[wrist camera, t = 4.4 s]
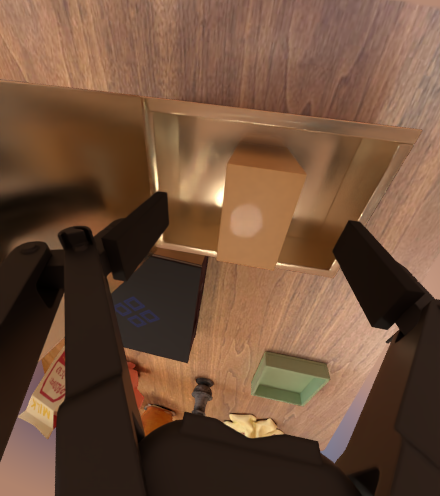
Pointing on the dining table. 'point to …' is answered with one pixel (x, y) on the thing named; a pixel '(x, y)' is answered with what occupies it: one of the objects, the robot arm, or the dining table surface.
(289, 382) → the tray
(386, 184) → the gold metal box
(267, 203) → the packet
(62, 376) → the milk carton
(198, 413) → the dark chess piece
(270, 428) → the cloth
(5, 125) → the lid
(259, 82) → the dining table surface
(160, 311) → the book
